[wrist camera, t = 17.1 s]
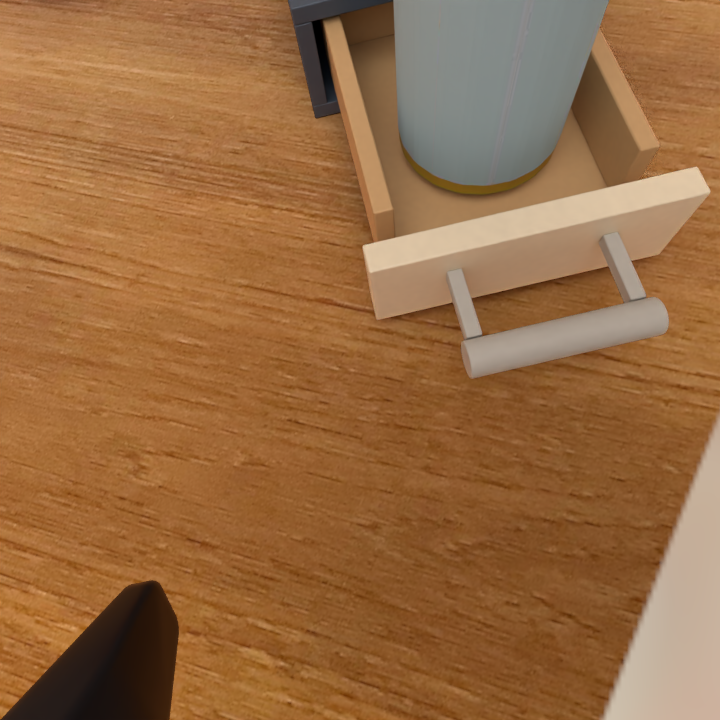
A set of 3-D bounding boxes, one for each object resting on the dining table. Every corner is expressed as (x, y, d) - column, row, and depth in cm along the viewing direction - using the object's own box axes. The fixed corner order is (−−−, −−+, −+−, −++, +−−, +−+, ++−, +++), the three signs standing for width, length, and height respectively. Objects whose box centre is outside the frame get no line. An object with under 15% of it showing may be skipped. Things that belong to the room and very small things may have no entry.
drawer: (701, 344, 21) (769, 296, 17) (399, 413, 21) (395, 382, 17) (541, 6, 28) (563, -85, 24) (313, 62, 28) (297, -19, 24)
